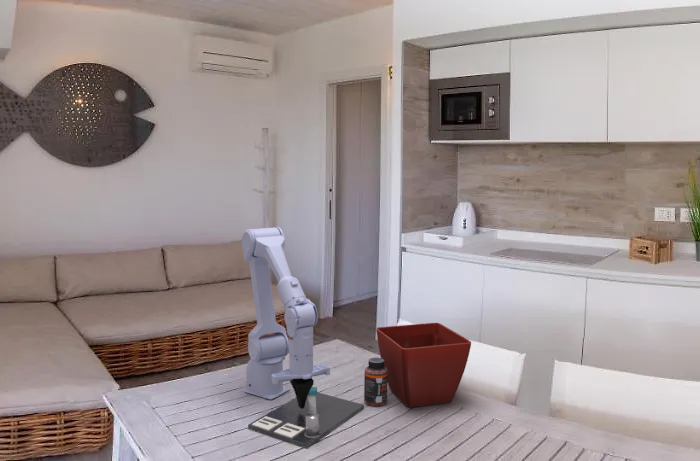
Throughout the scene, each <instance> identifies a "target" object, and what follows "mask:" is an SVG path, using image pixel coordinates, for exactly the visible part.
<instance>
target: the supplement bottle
mask: <svg viewBox="0 0 700 461" xmlns="http://www.w3.org/2000/svg"><path fill="white" fill-rule="evenodd" d="M363 383H364V384H363V386H364V387H363V388H364V389H363V392H364V393H363V394H364V395H363V397H364V400H363V401H364V403H366V405H369V406H372V407H373V406H374V407H380V406H384V405H386V404H387V402H388V370H387V368H386V367H384V359H382V358H381V357H371V358H369V359H368V364H367V366H365V368H364V382H363Z"/></svg>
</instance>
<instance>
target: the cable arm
mask: <svg viewBox="0 0 700 461" xmlns="http://www.w3.org/2000/svg"><path fill="white" fill-rule="evenodd" d="M317 392H318V387H317V386H315V387H314V386H312V387H311V389H310V391H309V393H308V414H309V413H316V395H315V394H317Z"/></svg>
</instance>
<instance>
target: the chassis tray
mask: <svg viewBox="0 0 700 461" xmlns="http://www.w3.org/2000/svg"><path fill="white" fill-rule="evenodd" d="M315 395H316V414H319V431H320V432H321V436H320V437H319V438H317V439H308V438H305V437H304V432H305V431H306V415H307V414H308V396H307V399H306V403H305V408H303V409H301V408H300V407H299V406H298V401H297V397H296V396H295V397H294V398H293V399H290V401H287V402H286V403H283V404H281V405H280V406H278V407H276V408H275V409H274V410H273V409H272V410H271V411H270V412H268V413H267V414H264V415H263V416H260V417H259V418H258V419H256V420H254V421H252V422H250V423H249V424H248V425H247V428H248V429H249V430H251V431H253V432H257V433H260V434H263V435H266V436H269V437H272V438H274V439H277V440H280V441H284V442H286V443H289V444H293V445H295V446H299V447H302V448H304V449H310V447H312V446H313V445H315V444H316V443H317V442H319V441H320V440H322V439H323V438H324V437H326V436H327V435H328V434H330V433H331V432H333V431H334V430H337V428H338V427H341V425H343V424H344V423H346V422H347V421H349V420H350V419H351V418H353V417H354V416H356V415H357V414H358V413H360V412H361V411H362V410H364V409H365V404H363V403H359V402H355V401H352V400H348V399H343V398H341V397H337V396H333V395H328V394H326V393H322V392H318V391H317V394H315ZM265 416H267V417H270V418H274V419H277V420H280V421H283V423H281V424H279V425H278V426H276V427H274V428H273V429H271V430H269V431H267V430H264V429H261V428H258V427H255V426H252V424H253V423H255V422H257V421H258V420H260V419H262V418H264V417H265ZM287 423H290V424H293V425H296V426H299V427H302V428H305V430H304V431H302V432H300V433H299V434H297V435H296V436H294V437H293V438H289V437H286V436H283V435H280V434H277V433H274V431H275V430H277V429H279V428H280V427H282V426H283V425H285V424H287Z"/></svg>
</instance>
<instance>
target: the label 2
mask: <svg viewBox="0 0 700 461" xmlns="http://www.w3.org/2000/svg"><path fill="white" fill-rule="evenodd" d="M304 430H305V428H302V427H299V426H296V425H293V424H290V423H287V424H285V425H283V426H282V427H280V428H279V429H277V430H275V431H274V433H277V434H280V435H283V436H286V437H289V438H293V437H294V436H296V435H297V434H299V433H300V432H302V431H304Z"/></svg>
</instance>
